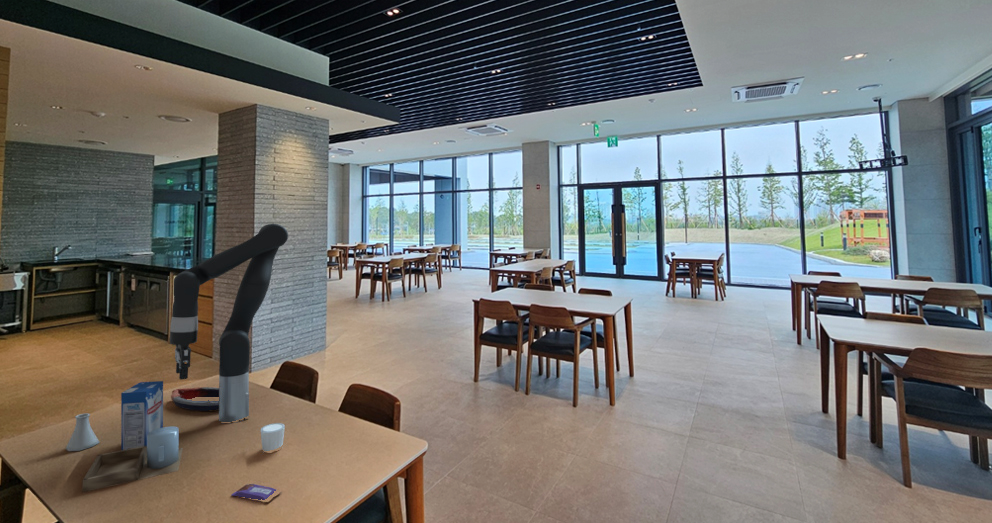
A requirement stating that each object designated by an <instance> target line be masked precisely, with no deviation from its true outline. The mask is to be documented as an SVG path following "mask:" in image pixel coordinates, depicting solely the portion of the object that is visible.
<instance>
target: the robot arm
mask: <svg viewBox="0 0 992 523" xmlns="http://www.w3.org/2000/svg"><path fill="white" fill-rule="evenodd" d="M288 238H289V233H288V229H286V228H285V227H284V226H283V225H281V224H278V223H267V224H265V225H262V227H261V228H260V229H259V231H258V233H257V234H255V235H254V236H252V237H251V238H249V239H247V240H246V241H244V242H242V243H239V244H236V245H235V246H232V247H231V248H228V249H225V250H223V251H221V252H219V253H217V254H215V255H213V256H212V257H209V258H207V259H206V260H204V261H202V262H201V263H199V264H197V265H195V266H193V267H190V268H188V269H185V270H183V271H181V272H180V273H178V274H177V275H176V276H175V278H174V280H173V302H172V308H171V309H172V310H171V313H172V314H171V319H170V328H169V330H170V331H169V344H170V345H175V348H174V352H175V353H174V354H175V355H174V358H175V359H174V360H175V363H176V366H175V373H176V374H179V376H178V378H179V380H186V379H188V378H189V368H190V366H191V359H192V358H191V353H192V348H191V347H189V346H190V345H192V344H195V343H197V342H198V332H199V302H198V300H199V294H200V286H202V285H204V284H205V283H207V282H209V281H210V280H213V279H217V278H218V277H221V276H223V275H224V274H226V273H227V272H229V271H230V272H231V271H232V270H234V269H235V268H237V267H238V266H240V265H242V264H243V263H245V262H247V261H248V260H250V261H249V263H248V266H247V267H246V270H245V272H244V274H243V276H242V279H241V281H240V283H239V287H238V290H237V293H236V297H235V300H234V304H233V307H232V310H231V311H232V312H231V314H230V317H229V320H228V322H227V324H226V326H225V328H224V330H223V331H222V333H221V334H220V337H219V340H218V345H219V368H218V371H219V372H218V376H219V377H218V382H219V383H218V388H219V410H218V422H219V421H221V422H232V421H236V420H239V419H242V418H244V417H247V416H249V415H250V391H249V389H250V388H249V387H250V386H249V385H250V384H249V383H250V382H249V380H250V379H249V378H250V374H249V373H250V372H249V371H250V369H249V368H250V360H251V359H250V358H251V356H250V355H251V354H250V353H251V345H250V344H251V342H250V338H249V334H250V329H251V326H252V322H253V320H254V318H255V315H256V314H257V312H258V310H259V309H260V307H261V306H262V304H263V302H264V300H265V297H266V295H267V292H268V289H269V287H270V283H271V280H272V271H273V264H274V260H275V257H276V255H277V252H278V251H279V249H280V247H283V246H284V244H286V243H287V240H288ZM249 417H250V416H249Z"/></svg>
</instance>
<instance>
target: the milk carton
mask: <svg viewBox="0 0 992 523" xmlns="http://www.w3.org/2000/svg"><path fill="white" fill-rule="evenodd" d="M120 404H121V410H120V411H121V412H120V413H121V414H120V418H121V420H120V421H121V423H120V426H121V428H120V430H121V433H120V436H121V439H120V442H121V444H120V446H121V448H120V451H121V450H126V449H131V448H136V447H142V446H147V434H148V433H149V432H151V431H153V430H156V429H159V428H163V427H164V380H157V381H140V382H138V383H136V384H135V385H132V386H131V387H129V388H127V389H126V390H124V391H123V392H121V394H120Z"/></svg>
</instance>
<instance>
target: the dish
mask: <svg viewBox="0 0 992 523" xmlns="http://www.w3.org/2000/svg"><path fill="white" fill-rule="evenodd" d="M195 397H219V387H213V386H211V387H210V386H208V387H207V386H203V387H200V386H199V387H185V388H176V389H173V390H172V391H171V395H170V399H171V400H172V402H173V404H174V405H175V406H177V407H179V408H182V409H185V410H190V411H196V410H198V412H210V411H209V410H216V411H219V410H218V409H219V401H209V400H208V401H192V400H187V399H192V398H195Z"/></svg>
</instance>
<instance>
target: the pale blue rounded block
mask: <svg viewBox="0 0 992 523" xmlns="http://www.w3.org/2000/svg"><path fill="white" fill-rule="evenodd" d="M179 432H180V431H179V427H177V426H165V427H164V426H163V428H159V429H156V430H153V431H151V432H149V433H148V434H147V468H149V469H159V468H164V467H167V466H170V465H172V464H174V463H175V462H177V461H178V456H179V448H180V447H179V446H180V445H179V442H180V441H179V440H180V439H179V438H180V437H179Z"/></svg>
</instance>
